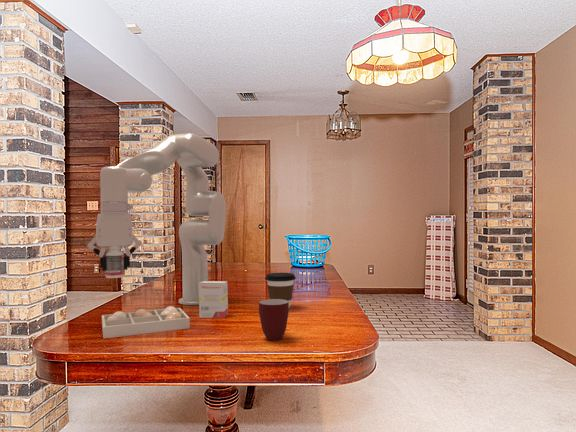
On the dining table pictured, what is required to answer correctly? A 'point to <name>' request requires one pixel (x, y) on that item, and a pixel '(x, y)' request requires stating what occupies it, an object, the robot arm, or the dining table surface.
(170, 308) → the cream egg
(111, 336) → the grey compartment tray
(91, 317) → the dining table surface
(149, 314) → the brown egg
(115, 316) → the cream egg
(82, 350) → the dining table surface
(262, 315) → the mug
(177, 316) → the brown egg
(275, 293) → the coffee cup
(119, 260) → the pill bottle
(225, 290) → the ink box
